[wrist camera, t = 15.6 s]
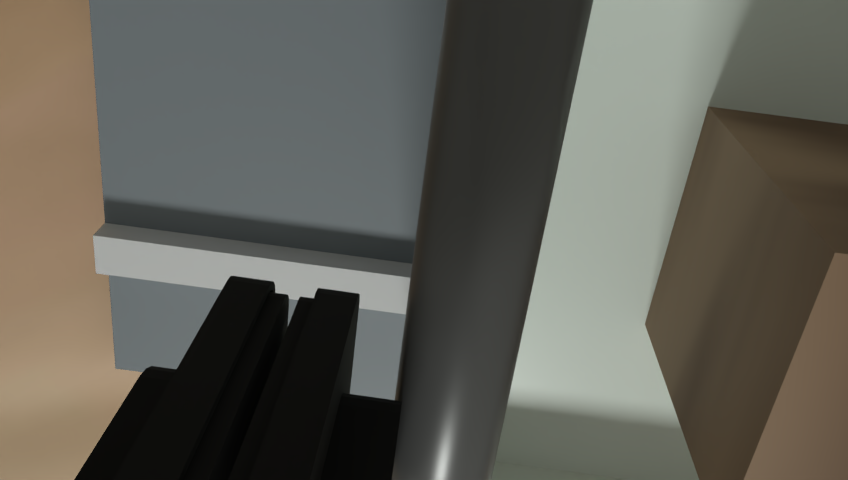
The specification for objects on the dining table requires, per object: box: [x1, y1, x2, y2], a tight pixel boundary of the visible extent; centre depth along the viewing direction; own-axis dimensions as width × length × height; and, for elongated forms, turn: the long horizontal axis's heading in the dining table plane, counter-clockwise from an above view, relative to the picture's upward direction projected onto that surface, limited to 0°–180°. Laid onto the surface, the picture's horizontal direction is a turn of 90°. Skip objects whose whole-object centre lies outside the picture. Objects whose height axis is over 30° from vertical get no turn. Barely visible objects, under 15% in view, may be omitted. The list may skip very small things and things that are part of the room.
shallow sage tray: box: [392, 0, 848, 480], centre depth 15 cm, size 16×13×11 cm
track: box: [89, 0, 446, 400], centre depth 21 cm, size 19×27×2 cm
